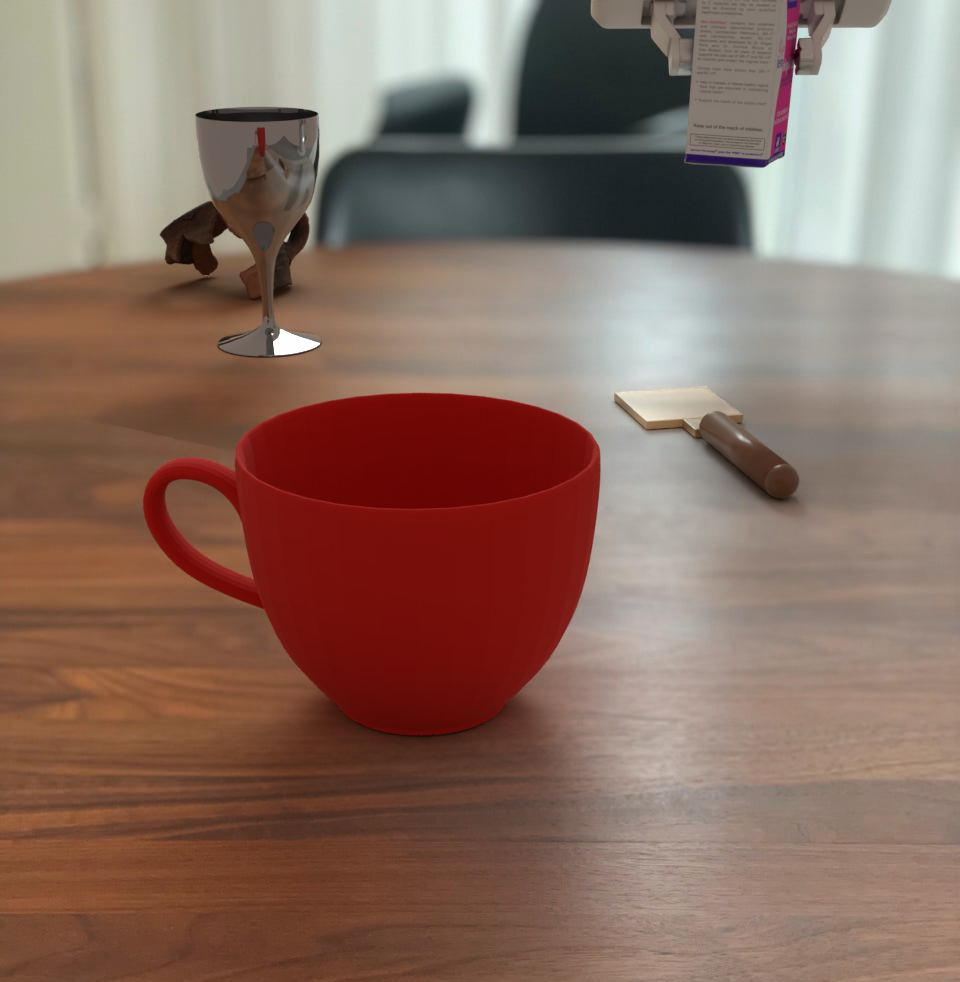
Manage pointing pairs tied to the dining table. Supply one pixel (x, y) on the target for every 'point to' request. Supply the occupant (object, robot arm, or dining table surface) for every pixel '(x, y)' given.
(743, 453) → the spatula
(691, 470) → the dining table surface
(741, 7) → the supplement box
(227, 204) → the wine glass
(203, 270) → the brown irregular piece
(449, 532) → the ceramic cup
